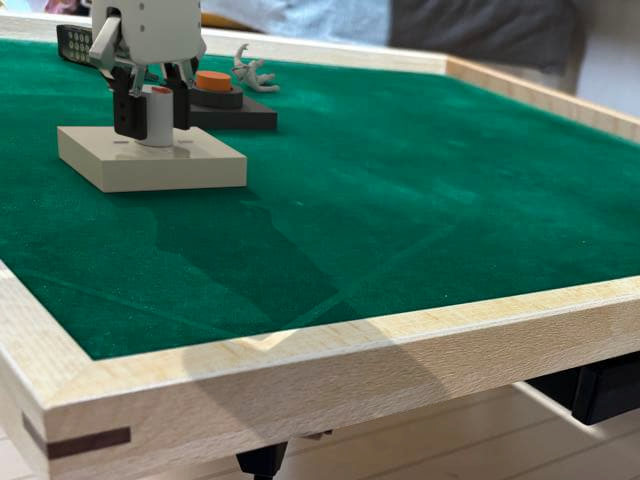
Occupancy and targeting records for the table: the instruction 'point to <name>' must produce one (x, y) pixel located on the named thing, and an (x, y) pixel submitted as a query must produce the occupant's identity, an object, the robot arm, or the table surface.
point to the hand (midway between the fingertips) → (153, 130)
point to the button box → (229, 111)
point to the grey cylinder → (158, 116)
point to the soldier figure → (251, 73)
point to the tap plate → (151, 160)
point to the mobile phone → (82, 46)
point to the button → (213, 81)
